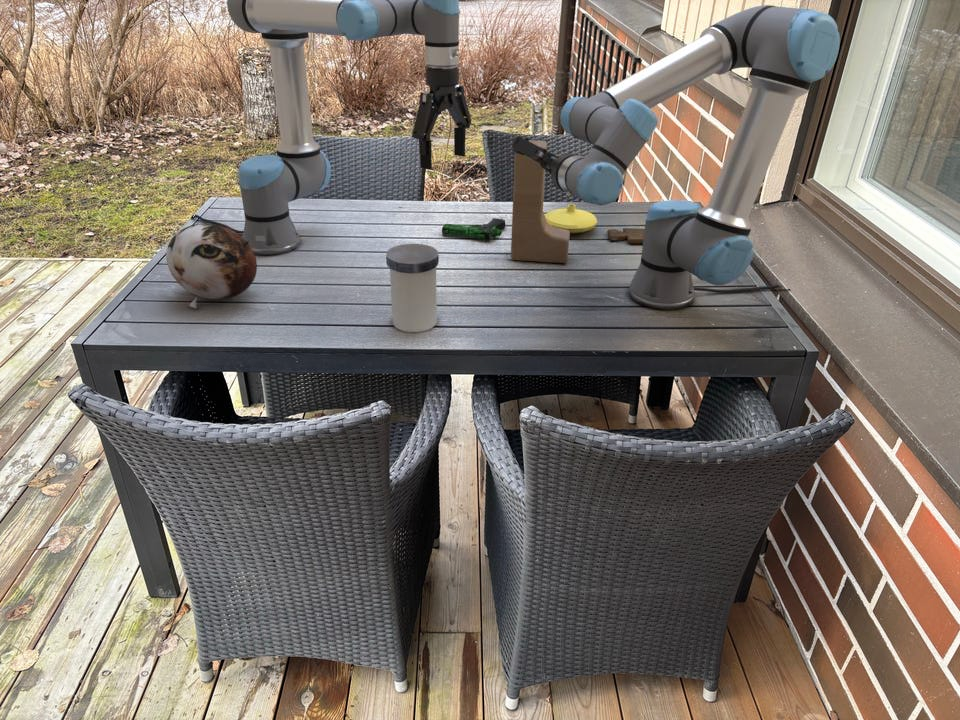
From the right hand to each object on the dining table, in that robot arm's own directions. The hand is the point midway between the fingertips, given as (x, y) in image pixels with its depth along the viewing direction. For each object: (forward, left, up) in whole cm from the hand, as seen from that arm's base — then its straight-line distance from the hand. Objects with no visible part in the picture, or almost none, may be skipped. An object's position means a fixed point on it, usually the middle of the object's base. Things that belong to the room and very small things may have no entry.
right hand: (540, 163), depth 160 cm
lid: (+31, +11, -15) cm, 37 cm away
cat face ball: (+75, -12, -31) cm, 81 cm away
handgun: (+5, -40, -31) cm, 50 cm away
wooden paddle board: (-44, -24, -31) cm, 59 cm away
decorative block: (-7, -18, -31) cm, 36 cm away
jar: (+32, +11, -31) cm, 45 cm away
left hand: (+19, -15, -3) cm, 24 cm away
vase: (-23, -36, -31) cm, 53 cm away
